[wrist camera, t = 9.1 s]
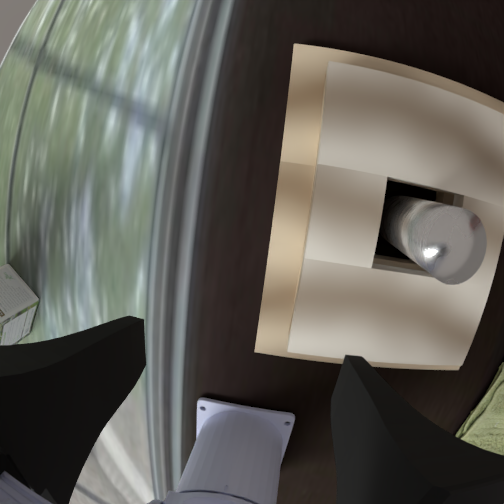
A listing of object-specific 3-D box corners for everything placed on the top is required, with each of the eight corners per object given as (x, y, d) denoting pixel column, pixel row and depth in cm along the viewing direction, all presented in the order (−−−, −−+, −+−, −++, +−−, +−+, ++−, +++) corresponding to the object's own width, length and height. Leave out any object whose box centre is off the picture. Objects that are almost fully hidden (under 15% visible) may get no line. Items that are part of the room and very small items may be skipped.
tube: (415, 248, 19) (474, 290, 11) (372, 239, 19) (415, 277, 11) (426, 201, 18) (493, 218, 10) (382, 190, 18) (435, 199, 10)
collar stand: (452, 362, 20) (471, 388, 16) (256, 343, 22) (248, 373, 18) (503, 109, 15) (533, 101, 11) (294, 50, 17) (293, 25, 13)
